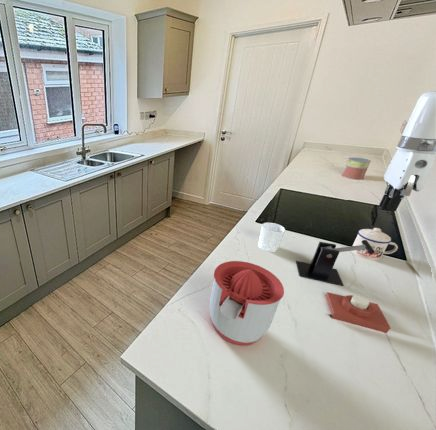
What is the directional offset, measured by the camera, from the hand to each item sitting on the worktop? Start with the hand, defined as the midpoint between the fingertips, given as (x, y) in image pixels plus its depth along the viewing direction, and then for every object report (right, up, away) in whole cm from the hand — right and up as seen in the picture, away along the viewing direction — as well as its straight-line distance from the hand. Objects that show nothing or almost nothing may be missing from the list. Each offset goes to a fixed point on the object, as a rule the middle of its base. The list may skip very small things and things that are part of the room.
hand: (386, 209), depth 75 cm
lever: (-4, -14, +9) cm, 17 cm away
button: (-9, -27, -1) cm, 29 cm away
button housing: (-9, -30, 0) cm, 32 cm away
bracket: (-8, -23, +16) cm, 29 cm away
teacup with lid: (+19, -18, +25) cm, 36 cm away
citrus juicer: (-46, -33, -3) cm, 57 cm away
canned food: (+87, +25, +106) cm, 139 cm away
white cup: (-17, -16, +30) cm, 38 cm away
